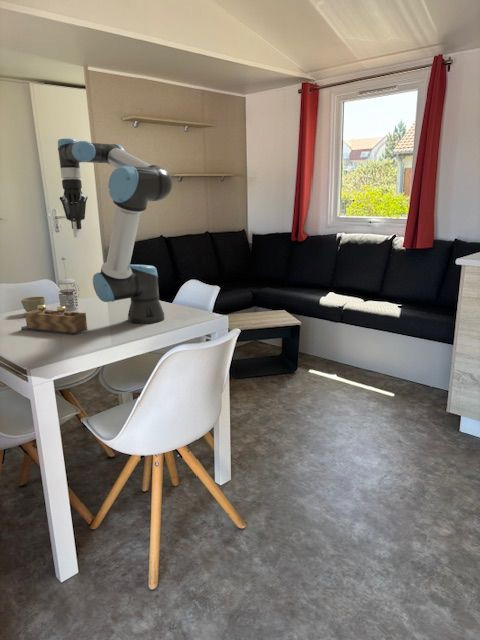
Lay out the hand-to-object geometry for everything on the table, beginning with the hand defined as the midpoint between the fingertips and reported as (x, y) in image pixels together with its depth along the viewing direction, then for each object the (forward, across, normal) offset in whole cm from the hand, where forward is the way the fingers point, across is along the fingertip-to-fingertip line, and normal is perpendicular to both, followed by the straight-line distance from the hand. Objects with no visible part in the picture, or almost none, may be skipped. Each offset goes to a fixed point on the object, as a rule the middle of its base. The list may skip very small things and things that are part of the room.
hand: (77, 237), depth 198 cm
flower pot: (+35, +26, +4) cm, 43 cm away
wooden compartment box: (+33, -5, +23) cm, 41 cm away
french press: (+35, +14, -6) cm, 38 cm away
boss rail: (+34, -3, +23) cm, 41 cm away
